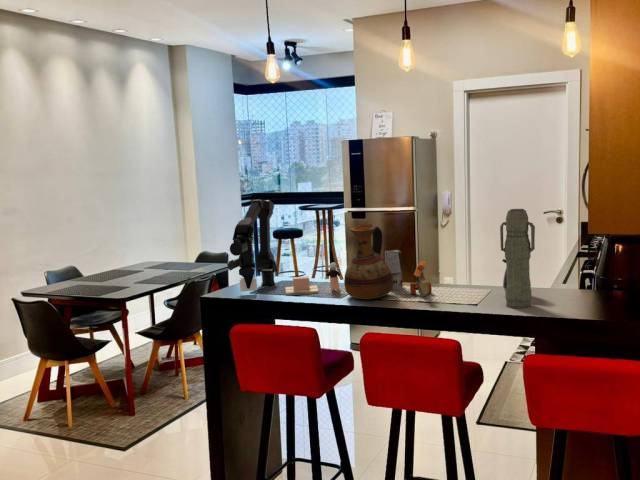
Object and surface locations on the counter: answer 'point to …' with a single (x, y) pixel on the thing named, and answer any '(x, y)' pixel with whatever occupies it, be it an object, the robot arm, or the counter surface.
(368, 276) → the ceramic pitcher
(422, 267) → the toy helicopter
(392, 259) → the coffee box
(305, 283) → the terracotta brick
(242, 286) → the offwhite brick
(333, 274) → the grandmother figurine
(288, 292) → the oak board
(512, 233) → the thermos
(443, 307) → the counter surface
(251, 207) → the robot arm
